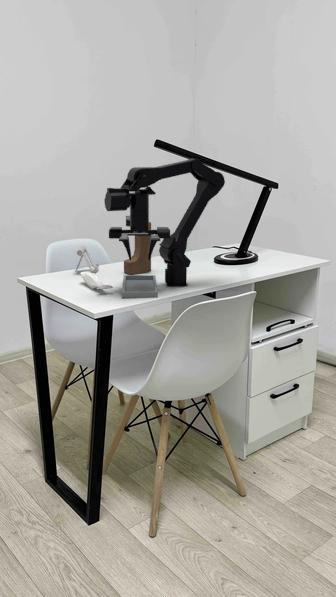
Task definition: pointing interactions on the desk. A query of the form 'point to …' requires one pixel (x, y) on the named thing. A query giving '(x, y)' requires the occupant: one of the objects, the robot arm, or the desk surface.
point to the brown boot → (139, 256)
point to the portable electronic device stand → (81, 253)
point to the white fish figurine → (94, 281)
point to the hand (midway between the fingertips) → (139, 260)
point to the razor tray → (139, 286)
